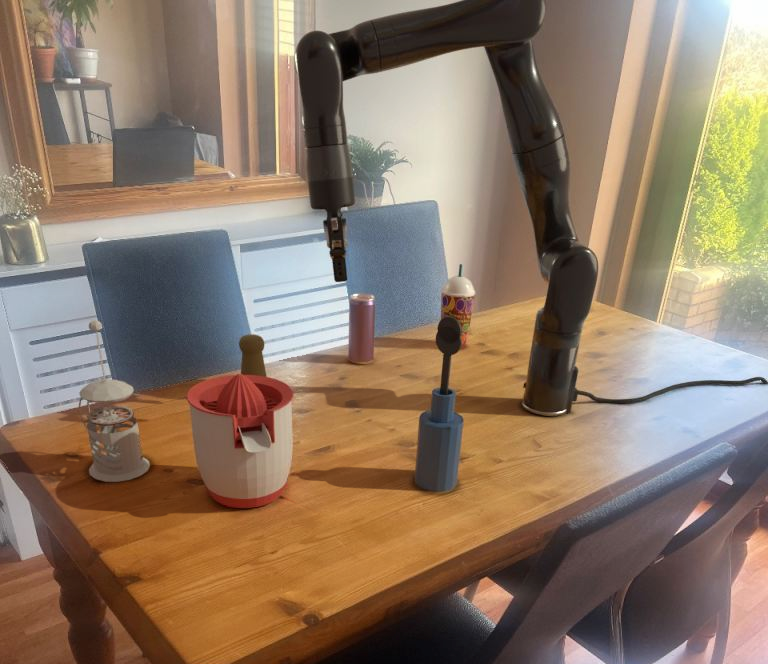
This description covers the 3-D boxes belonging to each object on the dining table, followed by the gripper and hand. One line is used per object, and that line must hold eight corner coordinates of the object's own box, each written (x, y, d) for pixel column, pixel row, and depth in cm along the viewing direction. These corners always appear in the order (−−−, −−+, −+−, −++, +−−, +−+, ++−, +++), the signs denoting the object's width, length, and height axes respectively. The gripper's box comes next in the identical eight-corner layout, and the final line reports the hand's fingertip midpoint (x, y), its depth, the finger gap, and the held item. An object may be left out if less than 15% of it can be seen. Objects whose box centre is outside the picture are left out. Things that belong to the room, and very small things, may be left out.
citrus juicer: (211, 531, 106) (198, 405, 95) (188, 477, 119) (175, 361, 109) (312, 512, 111) (311, 391, 101) (280, 462, 125) (276, 351, 114)
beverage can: (370, 366, 167) (372, 301, 159) (345, 363, 168) (346, 298, 160) (375, 357, 172) (378, 294, 164) (351, 354, 173) (352, 292, 165)
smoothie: (447, 352, 178) (455, 269, 167) (430, 342, 184) (437, 261, 173) (476, 348, 181) (485, 267, 171) (458, 338, 187) (466, 259, 177)
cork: (273, 384, 155) (271, 334, 149) (258, 393, 150) (255, 342, 145) (250, 379, 157) (247, 329, 151) (234, 388, 152) (230, 337, 147)
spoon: (425, 476, 122) (439, 313, 107) (447, 484, 120) (464, 319, 105) (423, 477, 121) (437, 314, 107) (446, 485, 119) (462, 320, 105)
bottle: (450, 473, 124) (460, 383, 116) (460, 493, 118) (471, 400, 110) (411, 474, 123) (417, 383, 114) (419, 495, 117) (426, 401, 109)
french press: (116, 487, 115) (89, 335, 102) (68, 467, 120) (37, 319, 107) (162, 464, 122) (142, 319, 109) (115, 446, 127) (91, 305, 114)
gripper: (353, 175, 113) (363, 282, 120) (351, 173, 125) (361, 269, 133) (305, 180, 113) (318, 286, 120) (308, 177, 125) (320, 274, 133)
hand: (341, 277), depth 126 cm, fingers open, 8 cm apart
